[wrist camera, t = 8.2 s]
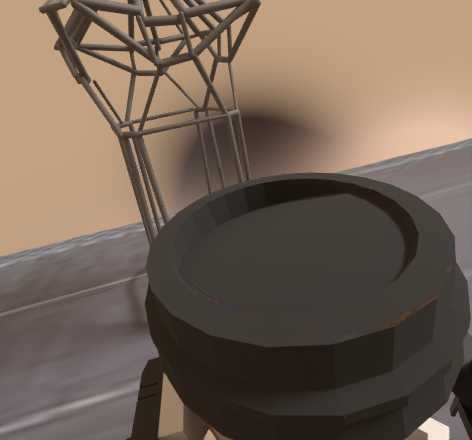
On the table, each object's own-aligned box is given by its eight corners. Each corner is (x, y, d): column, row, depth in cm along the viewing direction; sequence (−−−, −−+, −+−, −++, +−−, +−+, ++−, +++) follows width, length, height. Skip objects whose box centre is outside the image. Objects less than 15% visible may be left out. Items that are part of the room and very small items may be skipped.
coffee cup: (207, 434, 16) (101, 231, 8) (304, 352, 19) (287, 156, 12) (311, 665, 9) (236, 639, 2) (431, 476, 12) (569, 206, 5)
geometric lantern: (232, 234, 46) (187, -22, 29) (288, 284, 33) (266, -119, 16) (146, 270, 40) (25, -22, 23) (174, 347, 27) (-47, -172, 10)
